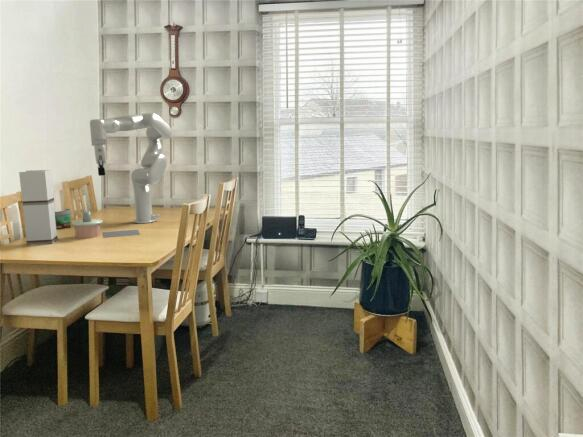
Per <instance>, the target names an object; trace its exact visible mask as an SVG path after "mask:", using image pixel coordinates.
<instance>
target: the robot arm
mask: <svg viewBox="0 0 583 437" xmlns="http://www.w3.org/2000/svg"><path fill="white" fill-rule="evenodd" d="M89 129H90V140H91V142H90V143H91V146H92V147H94V156H95V162H96V164H97V173H98V176H100V177H101V176H106V170H105V165H107V156H106V155H107V154H106V148H105V147H106V146H107V134H115V133H117V132H128V131H129V132H130V131H135V130H143V129H146V131H145V134H146V138H147V142H148V145H147V148H146V150H145V152H144V154H143V156H142V159H141V161H140V164H141V165H140V166H141V167H142V168H135V169H134V170H133V171H132V172H131V174H130V179H131V183H132V187H133V188H132V189H133V193H134V196H133V197H134V208H135V209H134V210H135V211H134V212H135V219H133V223H134V224H147V223H154V222H156V219H157V218H158V219H160V218H161V214H154V213H153V206H152V191H151V188H150V186H155V185H157V184H158V183H159V182H160V180H161V178H162V176H163V174H164V172H165V170H166V168H167V165H168V160H167V157H166V156H165V155H164V154H162V153H163V144H162V142H161V140H169V139H170V138H171V137H172V135H173V131H172V128H171V126H170V125H169V124H168V123H167V122H166V121H164V119H163V118H162V117H161V116H160V115H158V114H156V113H154V112H152V113H151V112H149V113H137V114H136V113H135V114H129V115H122V116H116V117H109V118H102V119H96V118H95V119H93V118H92V119H91V120H89Z"/></svg>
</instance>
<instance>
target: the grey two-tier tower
mask: <svg viewBox="0 0 583 437" xmlns="http://www.w3.org/2000/svg"><path fill="white" fill-rule="evenodd" d="M18 175H19V182H20V184H19V185H20V192H21V193H20V194H21V201H22V202H21V203H22V204H21V205H22V210H23V211H22V212H23V221H24V230H25V231H24V232H25V240H26V246H32V245H31V244H38V245H53V244H54V243H55V242H57V241H58V240H59V238H58V235H57V234H58V232H57V229H56V222H55V212H56V211H55V197H54V186H53V185H54V184H53V175H52V169H36V170H33V169H31V170H25V171H19V172H18ZM56 240H57V241H56ZM53 242H54V243H53Z"/></svg>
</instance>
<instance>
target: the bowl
mask: <svg viewBox="0 0 583 437" xmlns="http://www.w3.org/2000/svg"><path fill="white" fill-rule="evenodd" d="M74 233H75V234H74V235H75V238H76V239H93V238H98V237H100V236H102V235H101V233H102V232H101V224H97V225H90V226H74Z"/></svg>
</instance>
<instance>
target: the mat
mask: <svg viewBox="0 0 583 437" xmlns="http://www.w3.org/2000/svg"><path fill="white" fill-rule="evenodd" d="M140 235H141V232H140V231H139V229H128V230H115V231H113V230H112V231H104V232H102V238H103V239H104V238H107V239H108V238H119V237H128V236H129V237H130V236H140Z"/></svg>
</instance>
